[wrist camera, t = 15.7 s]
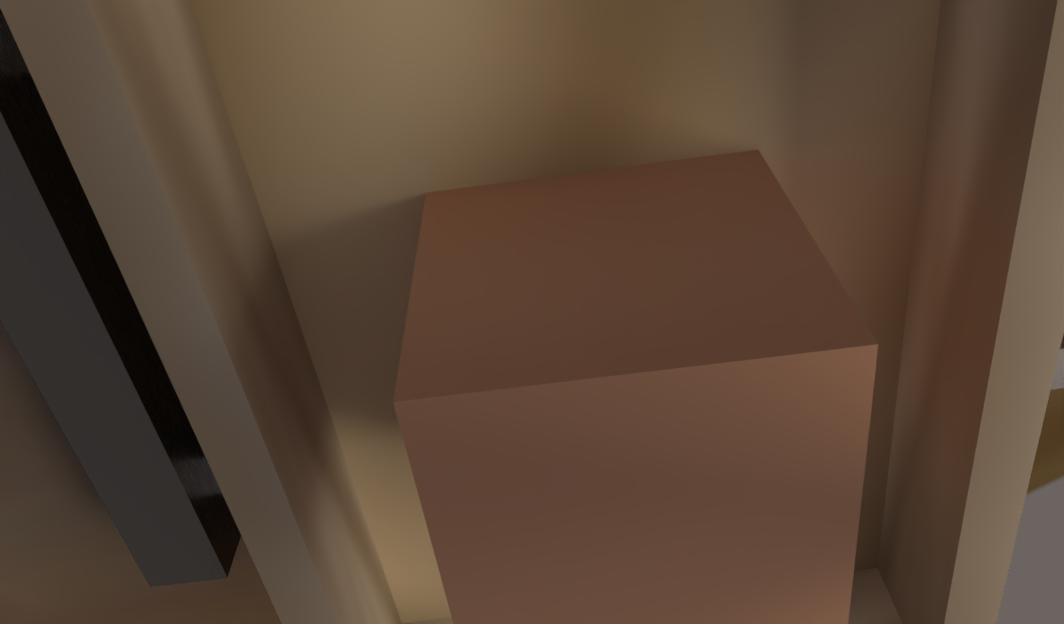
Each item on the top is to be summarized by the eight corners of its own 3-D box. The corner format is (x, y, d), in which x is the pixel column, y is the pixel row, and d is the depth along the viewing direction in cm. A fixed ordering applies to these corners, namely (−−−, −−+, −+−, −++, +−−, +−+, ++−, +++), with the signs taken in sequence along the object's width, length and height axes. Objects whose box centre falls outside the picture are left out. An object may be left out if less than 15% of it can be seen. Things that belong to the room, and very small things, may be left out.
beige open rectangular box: (953, -342, 11) (1229, -385, 7) (870, 496, 19) (975, 712, 15) (129, -206, 12) (-81, -167, 7) (384, 555, 20) (353, 779, 15)
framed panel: (1890, -378, 12) (2122, -397, 10) (1483, 352, 18) (1583, 414, 17) (-108, -60, 13) (-197, -29, 11) (180, 513, 20) (150, 586, 18)
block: (758, 149, 12) (877, 344, 8) (754, 408, 14) (844, 650, 11) (425, 192, 12) (392, 401, 8) (478, 440, 15) (470, 689, 11)
